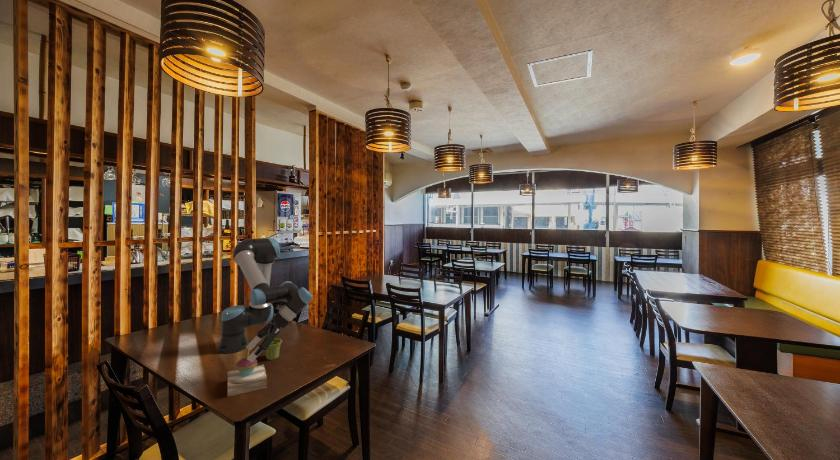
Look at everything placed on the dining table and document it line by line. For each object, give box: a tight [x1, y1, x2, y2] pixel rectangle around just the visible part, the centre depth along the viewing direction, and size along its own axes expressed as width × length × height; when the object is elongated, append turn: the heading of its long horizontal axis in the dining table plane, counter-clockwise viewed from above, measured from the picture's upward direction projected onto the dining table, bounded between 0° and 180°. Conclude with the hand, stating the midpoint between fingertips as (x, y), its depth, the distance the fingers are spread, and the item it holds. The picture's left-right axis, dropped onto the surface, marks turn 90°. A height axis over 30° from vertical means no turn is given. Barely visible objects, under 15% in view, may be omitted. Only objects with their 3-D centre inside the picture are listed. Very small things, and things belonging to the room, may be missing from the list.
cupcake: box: [235, 348, 258, 376], centre depth 143 cm, size 9×8×12 cm
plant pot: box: [264, 338, 283, 361], centre depth 171 cm, size 9×9×9 cm
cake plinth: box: [227, 364, 268, 398], centre depth 144 cm, size 15×15×5 cm
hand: (248, 354), depth 143 cm, fingers open, 13 cm apart
